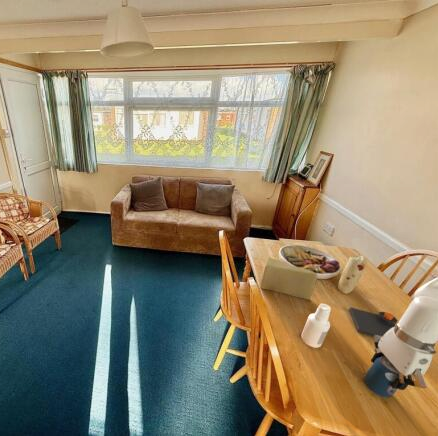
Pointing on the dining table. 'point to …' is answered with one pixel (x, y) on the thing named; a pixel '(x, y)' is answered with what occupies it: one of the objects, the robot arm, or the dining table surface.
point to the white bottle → (317, 326)
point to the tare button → (388, 316)
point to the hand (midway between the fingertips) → (386, 374)
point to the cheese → (288, 279)
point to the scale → (371, 322)
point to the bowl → (310, 260)
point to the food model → (351, 274)
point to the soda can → (382, 377)
